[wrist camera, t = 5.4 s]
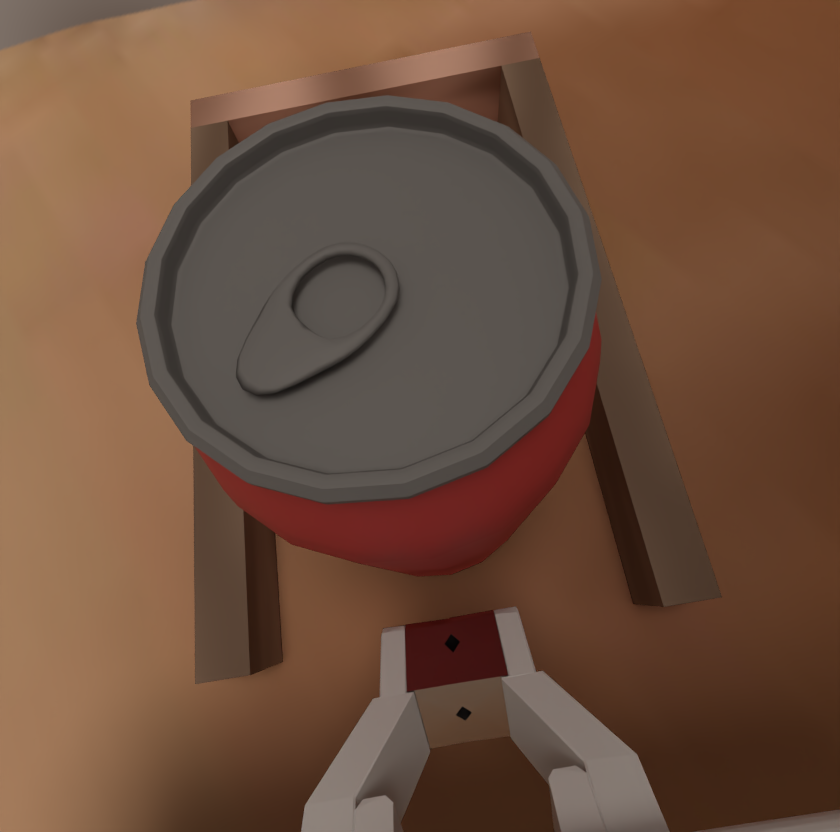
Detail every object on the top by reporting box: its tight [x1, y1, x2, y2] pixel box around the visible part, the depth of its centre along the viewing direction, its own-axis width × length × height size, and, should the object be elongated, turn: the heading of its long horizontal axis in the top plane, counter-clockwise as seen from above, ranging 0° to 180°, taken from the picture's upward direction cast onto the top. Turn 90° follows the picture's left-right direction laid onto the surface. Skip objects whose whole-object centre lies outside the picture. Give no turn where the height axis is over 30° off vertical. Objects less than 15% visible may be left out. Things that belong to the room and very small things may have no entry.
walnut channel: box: [191, 32, 722, 684], centre depth 18 cm, size 14×22×2 cm, turn 9°
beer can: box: [136, 95, 602, 576], centre depth 12 cm, size 7×7×12 cm
